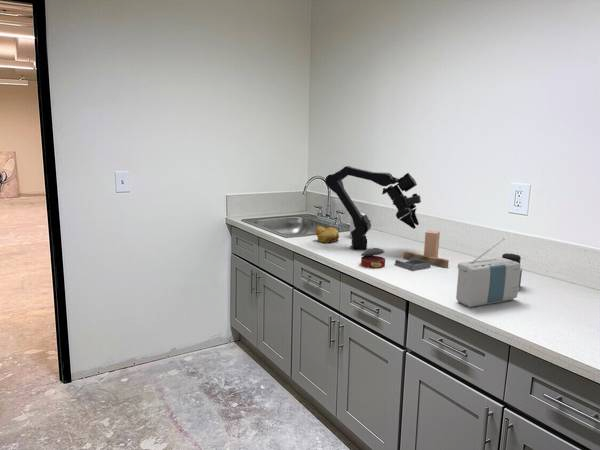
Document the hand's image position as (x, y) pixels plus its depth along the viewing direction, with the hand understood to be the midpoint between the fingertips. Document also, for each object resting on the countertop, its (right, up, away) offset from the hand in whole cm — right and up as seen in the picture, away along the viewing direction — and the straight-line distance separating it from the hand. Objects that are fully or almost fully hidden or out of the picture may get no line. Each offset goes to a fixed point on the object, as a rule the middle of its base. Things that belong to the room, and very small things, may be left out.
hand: (416, 226), depth 212 cm
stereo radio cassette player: (+9, -25, -57) cm, 63 cm away
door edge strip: (+1, -15, -11) cm, 19 cm away
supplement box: (-22, -6, +36) cm, 43 cm away
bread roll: (-38, -8, +26) cm, 47 cm away
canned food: (-22, -16, -16) cm, 32 cm away
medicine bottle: (+23, -22, -41) cm, 52 cm away
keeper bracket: (-6, -16, -17) cm, 24 cm away
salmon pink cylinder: (+5, -14, -4) cm, 16 cm away
